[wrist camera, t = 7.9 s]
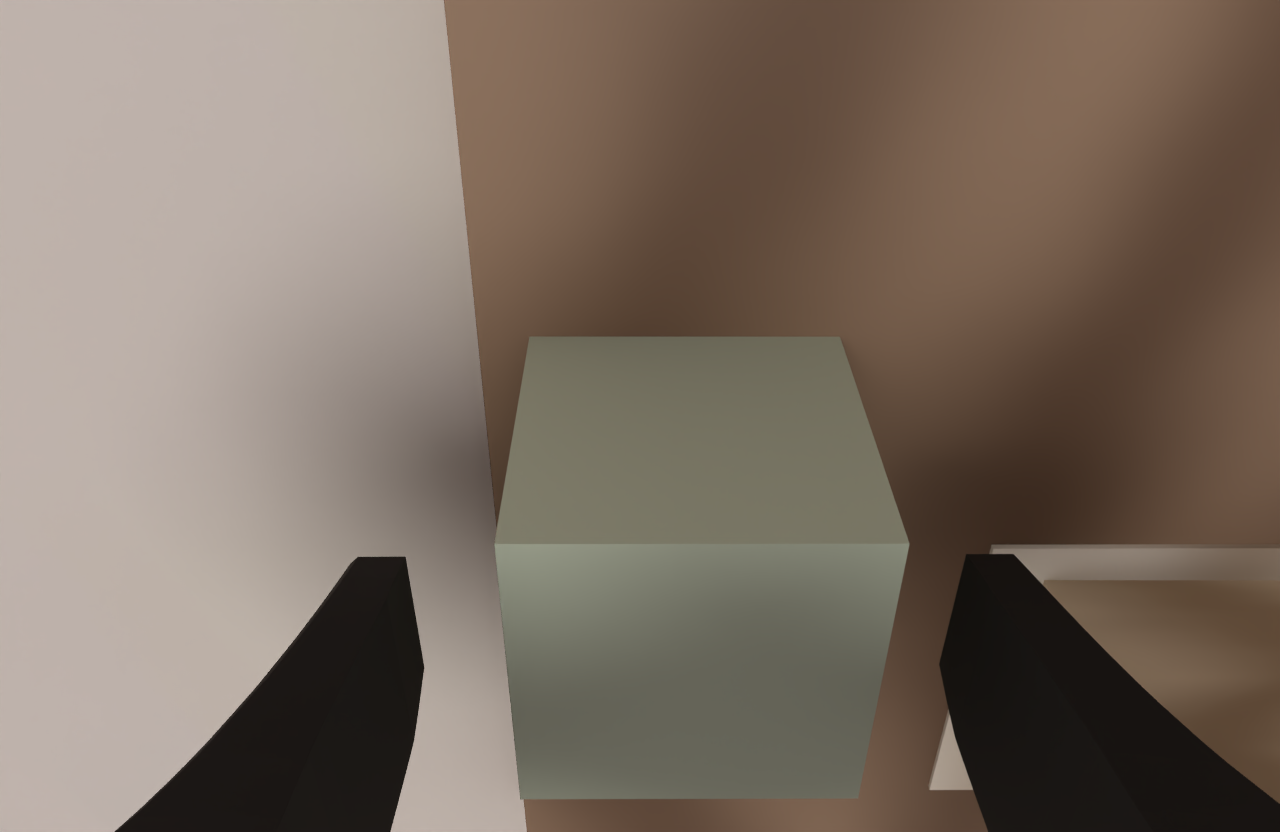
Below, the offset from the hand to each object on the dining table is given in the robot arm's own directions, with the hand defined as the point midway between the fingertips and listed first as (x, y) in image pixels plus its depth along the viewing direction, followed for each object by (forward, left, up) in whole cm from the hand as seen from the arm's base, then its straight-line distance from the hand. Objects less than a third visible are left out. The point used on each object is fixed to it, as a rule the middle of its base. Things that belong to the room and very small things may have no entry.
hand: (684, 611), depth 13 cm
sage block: (0, 0, -3) cm, 3 cm away
